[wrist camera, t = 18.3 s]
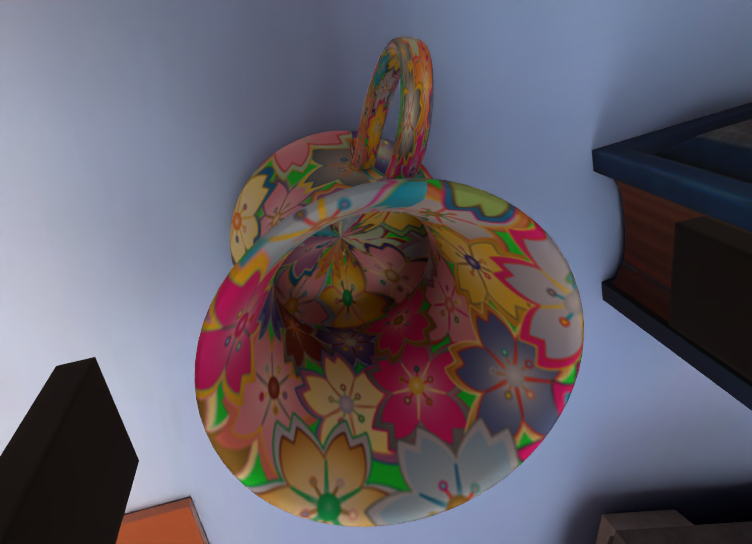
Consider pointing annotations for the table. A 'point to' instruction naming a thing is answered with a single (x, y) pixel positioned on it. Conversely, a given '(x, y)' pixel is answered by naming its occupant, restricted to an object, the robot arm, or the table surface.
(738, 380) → the book
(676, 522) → the machine
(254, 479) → the mug
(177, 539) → the mug tile
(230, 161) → the table surface
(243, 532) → the table surface
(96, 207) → the table surface
